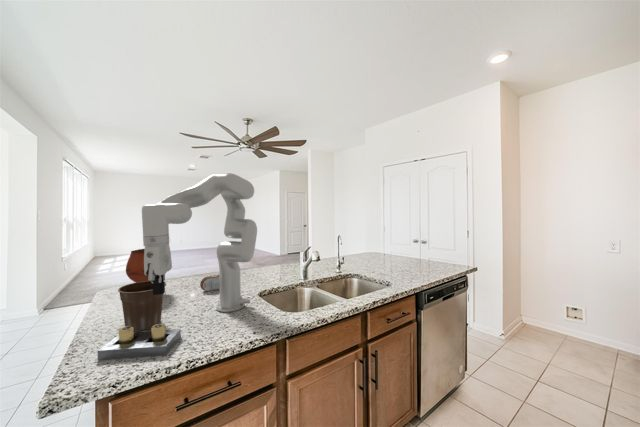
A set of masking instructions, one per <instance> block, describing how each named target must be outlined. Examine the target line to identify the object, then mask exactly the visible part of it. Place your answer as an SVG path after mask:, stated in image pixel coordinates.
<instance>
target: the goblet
mask: <svg viewBox="0 0 640 427" xmlns="http://www.w3.org/2000/svg"><path fill="white" fill-rule="evenodd" d="M144 250H145V248H139V249H135V250H134V249H133V250H131V251H130V255H129V257H128V260H127V262H126V266H125V275H127V277H128V279H130V281H133V283H137V282H143V281H149V280H148V276H146V275H145V272H144ZM154 274H155V273H154Z"/></svg>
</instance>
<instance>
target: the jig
mask: <svg viewBox="0 0 640 427" xmlns="http://www.w3.org/2000/svg"><path fill="white" fill-rule="evenodd" d="M181 336H182V333H181V329H180V328H178V329H165V340H164V341H163V342H152V330H143V331H134V330H133V326H125V325H124V326H123V327H120V328H119V329H118V335H117V336H115V337H114V338H113V339H111V340H109V342H107V343H105V345H103V346H102V347H100V349H98V350H97V361H103V360H104V361H105V360H117V359H118V360H119V359H120V360H121V359H132V358H133V359H134V358H145V357H147V358H148V357H159V356H160V357H161V356H167V355H168V354H169V352H170V351H171V350H172V348H174V346H175V345H176V344H177V342H178V341H179V340H180V339H181Z"/></svg>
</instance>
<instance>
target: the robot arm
mask: <svg viewBox="0 0 640 427" xmlns="http://www.w3.org/2000/svg"><path fill="white" fill-rule="evenodd" d="M254 194H255V187H254V185H253V184H252V182H250V181H249V180H247V179H245V178H243V177H242V176H240V175H238V174H235V173H231V172H227V173H214V174H211V175H209V176H208V177H206V178H204V179H203V180H201V181H200V182H198V183H197V184H195V185H193V186H192V187H188V188H186V189H183V190H182V191H179V192H176V193H174V194H172V195H171V194H170V195H169V196H167V197H166V198H164V199H162V200H161V201H159V202H157V203H155V204H154V203H153V204H152V203H151V204H143V205H142V207H141V221H142V222H141V224H142V226H141V227H142V241H143V244H142V245H143V247H144V249H145V250H144V272H145V275H146V276H148V280H149V281H151V282H152V286H153V295H159V294H163V293H164V294H165V293H166V286H165V282H166V281H165V280H166V274H167V273H168V272H169V271H171V270H172V268H173V265H172V264H173V263H172V253H171V247H170V229H169V225H181V224H182V225H183V224H186V223H188V222H189V221H190V220H191V219H192V215H193V212H192V209H193V208H199V207H201V206H205V205H208V204H209V202H211V201H212V200H214V199H215V198H216V197H218V196H219V195H221V197H222V198H223V200H224V202H225V205H226V207H227V211H226V218H225V222H224V228H223V233H224V234H223V235H225V237H226V238H228V239H234V240H226V241H222V242H220V243H219V244H218V245H217V248H216V257H217V262H218V270H219V274H218V275H219V285H220V289H219V303H218V304H217V305H216V308H215V309H216V310H217V311H218V312H220V313H231V312H237V311H239V310H241V309H243V308H244V307H245V304H247V305H248V304H251V299H250V298H248V297H247V298H244V297H243V295H242V293H241V291H242V288H241V267H240V264H239V263H248V262H250V261H251V260H253V258H254V254H255V250H256V249H255V248H256V242H257V236H258V227H257V223H256V222H255V221H254V220H252V219H249V218H245V216H246V207H245V206H244V203H243V202H242V200H249V199H251V198H253V197H254ZM236 239H237V240H239V239H240V240H239V241H237V240H236ZM235 240H236V241H235ZM154 273H155V274H154ZM164 294H163V295H164Z"/></svg>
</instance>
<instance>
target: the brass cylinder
mask: <svg viewBox="0 0 640 427" xmlns="http://www.w3.org/2000/svg"><path fill="white" fill-rule="evenodd" d="M150 329H151V330H150V331H152V342H163V341H164V340H165V330H166V324H165V323H160V324H157V325H154V326H152V327H151V328H150Z"/></svg>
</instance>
